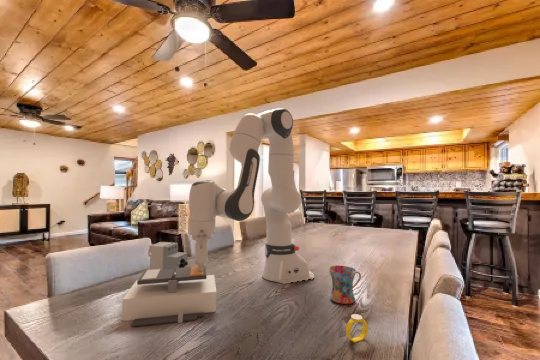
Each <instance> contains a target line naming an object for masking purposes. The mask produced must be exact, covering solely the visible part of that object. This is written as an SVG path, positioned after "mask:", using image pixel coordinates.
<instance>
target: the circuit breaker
mask: <svg viewBox="0 0 540 360" xmlns="http://www.w3.org/2000/svg"><path fill="white" fill-rule="evenodd" d="M148 247H149V249H148V251H147V256H148V257H149V270H155V269H173V268H176V267H177V268H186V267H188V265H189V263H188V262H189V261H188V252H180V251H178V250H179V249H178V247H179V245H178V242H166V241H159V242H157V243H153V244H150V245H148Z"/></svg>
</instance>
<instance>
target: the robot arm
mask: <svg viewBox="0 0 540 360" xmlns="http://www.w3.org/2000/svg"><path fill="white" fill-rule="evenodd" d="M293 126H294V119H293V115H292V114H291V113H290V111H289V110H288V109H287V108H275V109H271V110H266V111H264V112H261V113H258V114H255V113H246V114H244V115H243V116H241V118H240V120H239V122H238V124H237V125H236V127H235V129H234V132H233V134H232V137H231V139H230V143H229V152H230V155H231V156H232V158H233V159H234V160H236V161H237V162H239V163H240V164H241V169H240V173H239V179H238V182H237V187H236V188H235V189H233V190H228V189H225V188H222V187H221V186H219V185H218V184H216V182H215V181H214V180H212V179H211V180H210V179H209V180H208V179H206V180H199V181H198V180H197V181H196V182H193V183H192V184H191V186H190V189H189V195H188V208H189V216H188V220H187V223H188V224H187V227H188V228H187V235H189V236H191V240H193V241H195V242H194V243H195V244H194V245H195V246H194V264H195V265H197V266H198V271H203V270H204V266H205V265H206V264H207V262H208V249H209V248H208V245H209V241H208V240H211V239H212V236H213V235H215V234H216V217H222V218H227V219H230V220H234V221H237V222H242V221H245V220H247V219H248V218H249V217H250V216H251V215H252V214H253V211H254V208H255V191H256V186H257V180H258V174H259V171H260V170H259V169H260V163H261V162H260V161H261V157H260V154H259V150H260V145H261V142H262V139H268V142H269V149H268V167H267V168H268V169H267V173H268V175H269V178H270V182H271V187H269V188H267V189H265V190H264V191H263V192H262V194H261V198H260V201H261V204H262V207H263V211H264V216H265V222H266V226H265V227H266V243H265V248H264V255H265V256H264V257H265V261H264V266H263V270H262V274H261V277H262V278H263V279H265V280H267V281H271V282H276V283H280V284H285V285H286V284H291V282H293V283H297V281H299V282H303V281H302V280H305V281H309V280H308V279H311V280H314V279H315V274H314V273H313V271H311V270H310V269H309V268H310V267H309V264H308V262H307V261H306V260H305V259H304V257H302V256H301V255H300V254H298V253H297V252H299V250H300V246H299V245H295V244H293V243H292V241H293V239H292V237H293V236H292V235H293V234H292V233H293V232H292V231H293V228H292V227H293V226H292V223H291V222H290V218H289V215H288V213H292V212H295V211H297V210H298V209H299V207H300V205H301V203H302V197H301V194H300V192H299V191H298V190H297V186H296V182H295V177H294V150H295V149H294V140H293V136H292V134H291V133H292V130H293ZM313 278H314V279H313Z"/></svg>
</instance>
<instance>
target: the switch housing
mask: <svg viewBox="0 0 540 360" xmlns="http://www.w3.org/2000/svg"><path fill="white" fill-rule="evenodd" d="M206 275H207V274H206ZM137 281H138V279H136V280H135V282H134V283H133V285H132V286H131V287H130V289H129V290H128V292H127V293H126V294H125V295H124V297H123V298H122V306H121V308H122V309H121V322H127V321H133V320H134V319H138V318H148V317H158V316H168V315H178V314H179V311H183V314H188V313H198V312H204V314H205V313H215V312H217V288H216V287H217V285H216V277H215V274H208V275H207V276H206V279H201V280H189V281H178V282H177V280H169V281H168V282H166V283H154V284H143V285H137Z"/></svg>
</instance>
